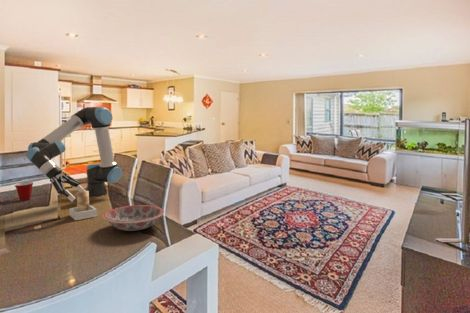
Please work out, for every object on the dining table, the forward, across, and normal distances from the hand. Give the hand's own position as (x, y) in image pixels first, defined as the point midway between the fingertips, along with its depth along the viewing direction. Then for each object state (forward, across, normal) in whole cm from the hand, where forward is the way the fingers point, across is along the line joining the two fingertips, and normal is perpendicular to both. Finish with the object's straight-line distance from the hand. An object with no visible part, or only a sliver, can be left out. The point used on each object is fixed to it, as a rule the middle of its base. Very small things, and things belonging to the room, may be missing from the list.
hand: (79, 196), depth 163 cm
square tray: (+9, 0, -7) cm, 11 cm away
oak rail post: (+8, 0, -6) cm, 10 cm away
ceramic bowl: (+34, +19, +18) cm, 42 cm away
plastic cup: (-30, -34, -46) cm, 64 cm away
